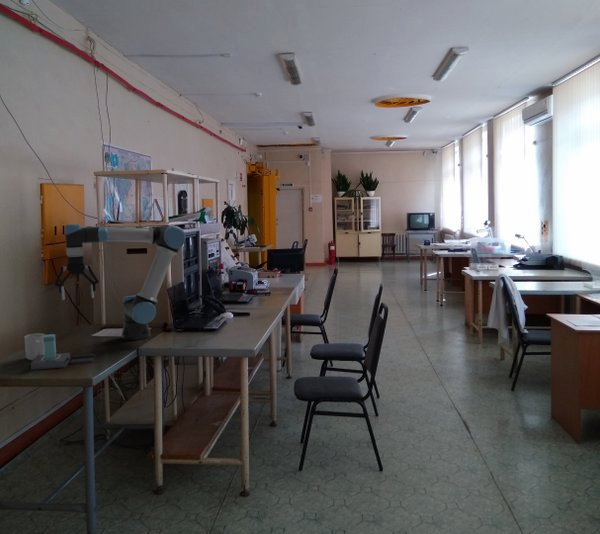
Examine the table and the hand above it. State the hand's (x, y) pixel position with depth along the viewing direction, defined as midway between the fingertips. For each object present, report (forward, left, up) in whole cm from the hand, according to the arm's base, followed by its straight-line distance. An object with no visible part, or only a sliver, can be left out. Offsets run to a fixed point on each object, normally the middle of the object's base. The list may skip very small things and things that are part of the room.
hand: (78, 298), depth 271 cm
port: (+10, +22, -27) cm, 36 cm away
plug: (+10, +22, -27) cm, 36 cm away
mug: (+19, +8, -27) cm, 34 cm away
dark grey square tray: (-3, +20, -27) cm, 33 cm away
